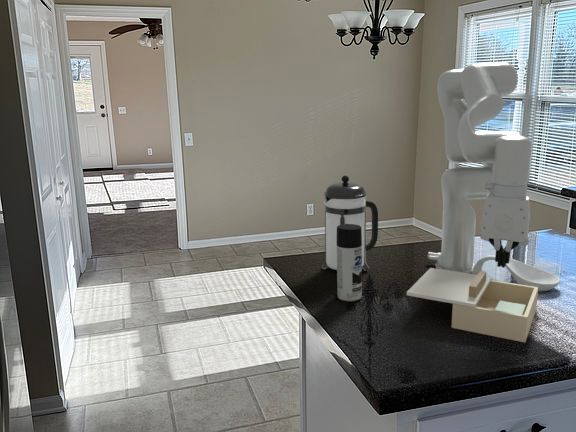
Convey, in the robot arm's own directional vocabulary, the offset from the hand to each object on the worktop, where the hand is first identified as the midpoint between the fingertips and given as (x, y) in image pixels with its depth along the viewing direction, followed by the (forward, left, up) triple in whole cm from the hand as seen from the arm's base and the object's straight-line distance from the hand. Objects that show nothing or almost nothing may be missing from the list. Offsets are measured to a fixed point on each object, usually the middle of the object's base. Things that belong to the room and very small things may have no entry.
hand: (501, 265), depth 125 cm
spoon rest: (0, +26, -14) cm, 30 cm away
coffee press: (-47, +16, -14) cm, 52 cm away
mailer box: (0, -1, -13) cm, 13 cm away
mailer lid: (-12, -1, -7) cm, 14 cm away
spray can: (-37, -5, -14) cm, 40 cm away
